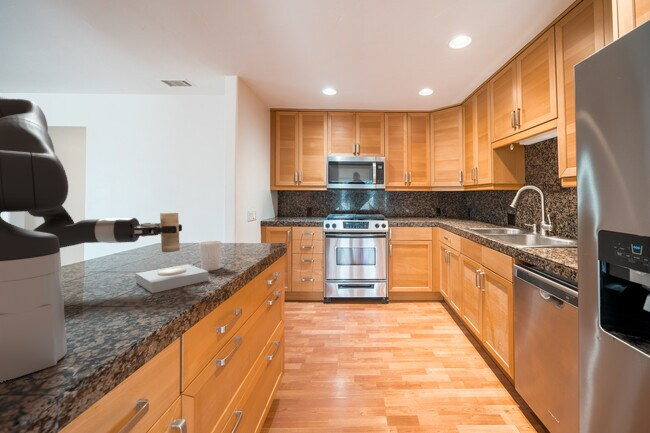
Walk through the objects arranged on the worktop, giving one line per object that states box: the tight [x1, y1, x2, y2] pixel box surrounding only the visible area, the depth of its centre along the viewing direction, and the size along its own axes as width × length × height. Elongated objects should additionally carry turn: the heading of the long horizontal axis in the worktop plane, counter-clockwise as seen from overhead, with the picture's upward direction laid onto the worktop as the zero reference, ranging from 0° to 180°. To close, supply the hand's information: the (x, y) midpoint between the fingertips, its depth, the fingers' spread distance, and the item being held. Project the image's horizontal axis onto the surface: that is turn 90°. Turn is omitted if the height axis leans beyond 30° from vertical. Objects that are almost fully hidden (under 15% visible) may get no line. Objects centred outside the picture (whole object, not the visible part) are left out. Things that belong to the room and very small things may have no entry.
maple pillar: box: [159, 212, 181, 253], centre depth 87 cm, size 5×5×12 cm
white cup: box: [198, 240, 222, 272], centre depth 104 cm, size 8×8×10 cm
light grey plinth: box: [135, 263, 210, 294], centre depth 88 cm, size 16×16×3 cm
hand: (178, 228), depth 88 cm, fingers closed on maple pillar, 5 cm apart
